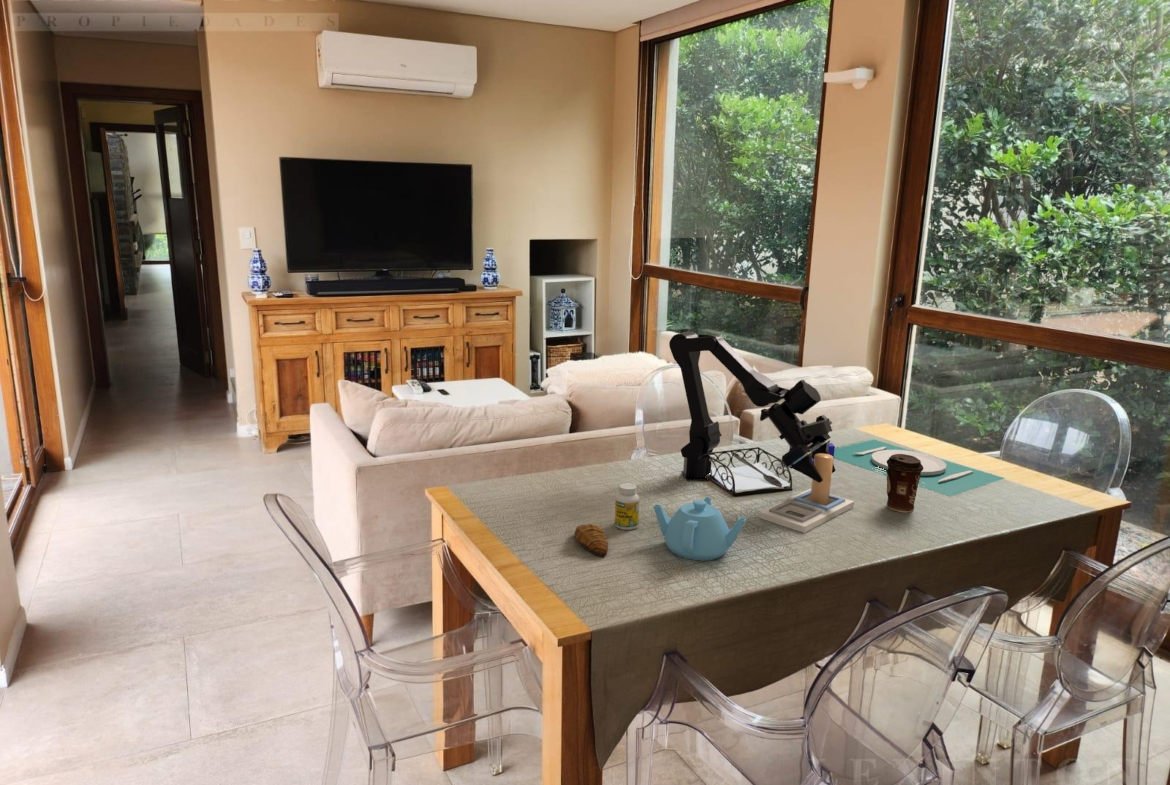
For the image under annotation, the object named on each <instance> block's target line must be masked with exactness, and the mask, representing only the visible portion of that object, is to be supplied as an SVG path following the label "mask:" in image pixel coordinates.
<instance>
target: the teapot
mask: <svg viewBox="0 0 1170 785" xmlns="http://www.w3.org/2000/svg"><path fill="white" fill-rule="evenodd" d="M711 499H712V498H711V497H710V496H709V497H708V496H705V497H704V499H703V500H701V499H696V500H693V502H688V503H684V504H682V505H681V506H680V507H679V508H678V509H677V510H676V511H675V513H674V514H673V515H672V517H671V518H670V517H669V515H668V514H667V512H666V511H665V509H664V508H663V505H662V504H658V503H657V504H653V507H652V508H653V510H654V513H655V516H656V519H657V523H658V525H659V527H660V531H661V534H662V536H664V541H665V544H666V546H667V547H668V549H669V550H670V551H671V552H672V553H673V554H675V555H676V556H679V557H680V558H684V559H686V560H692V561H693V560H694V561H710V560H711V561H712V560H716V559H718V558H720V557H722V556H723V555H724V554H725V553H726V552H727V551H728V550H730V548H731V546H732V545H733V544H734V542H735V540H736V539H737V538H738V535H739V534H740V532H741V530H742V528H744V525H745V524H746V521H747V520H748V519H747V518H744V517H738V519H737V521H736V522H735V523H734V525H733V526H732V528H731V529H729V527H728V523H727V522H726V519H724V516H723V515H722V513H721V511H720V510H719V509H718V508H717V507H716V506H714V505H712V500H711Z"/></svg>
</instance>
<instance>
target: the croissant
mask: <svg viewBox="0 0 1170 785" xmlns="http://www.w3.org/2000/svg"><path fill="white" fill-rule="evenodd" d="M573 535H574V538H575V540H576V541H577V542H578V544H579V546H581V547H582V548H583V549H585V550H587V551H588V552H590V553H592V554H594V555H596V556H599V557H606V556H607V554H608V550H609V543H608V541H607V539H608V538H607V536H606V533H605V532H604V530H603V529H602V528H601V527H600V526H598V525H595V524H591V523H588V524H581V525H578V526H576V528H575V531H574V534H573Z"/></svg>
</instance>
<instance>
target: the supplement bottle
mask: <svg viewBox="0 0 1170 785" xmlns="http://www.w3.org/2000/svg"><path fill="white" fill-rule="evenodd" d="M637 487H638V486H636V484H634V483H630V482H629V483H626V482H624V483H621V484H619V486H618V493H617V494H616V495H615V505H614V507H615V510H614V526H615V527H616V528H617V529H620V530H623V531H624V530H625V531H631V530H635V529H637V528H638V527H639V519H640V518H639V516H640V513H639V512H640V496H639V495H638V494H637Z"/></svg>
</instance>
